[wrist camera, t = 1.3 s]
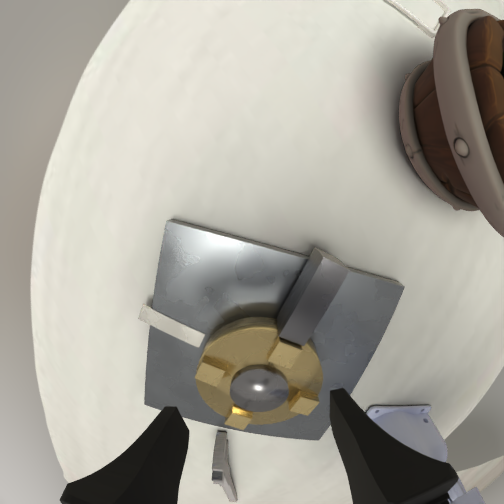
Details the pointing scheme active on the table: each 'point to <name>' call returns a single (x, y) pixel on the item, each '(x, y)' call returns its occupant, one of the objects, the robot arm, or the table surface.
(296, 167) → the table surface
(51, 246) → the table surface
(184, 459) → the robot arm
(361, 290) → the dark grey square plate
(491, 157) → the flowerpot
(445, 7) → the phone case
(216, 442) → the caliper
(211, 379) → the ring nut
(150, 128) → the table surface
